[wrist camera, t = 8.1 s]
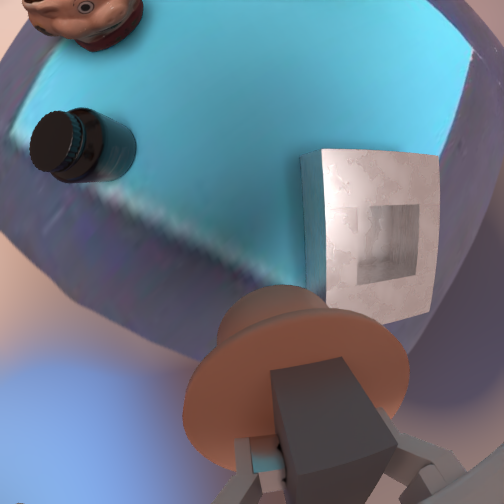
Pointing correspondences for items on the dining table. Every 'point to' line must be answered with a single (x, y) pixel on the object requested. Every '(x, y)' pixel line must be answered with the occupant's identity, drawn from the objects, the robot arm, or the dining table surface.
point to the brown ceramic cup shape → (86, 20)
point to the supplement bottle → (82, 146)
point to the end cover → (301, 392)
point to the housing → (371, 230)
